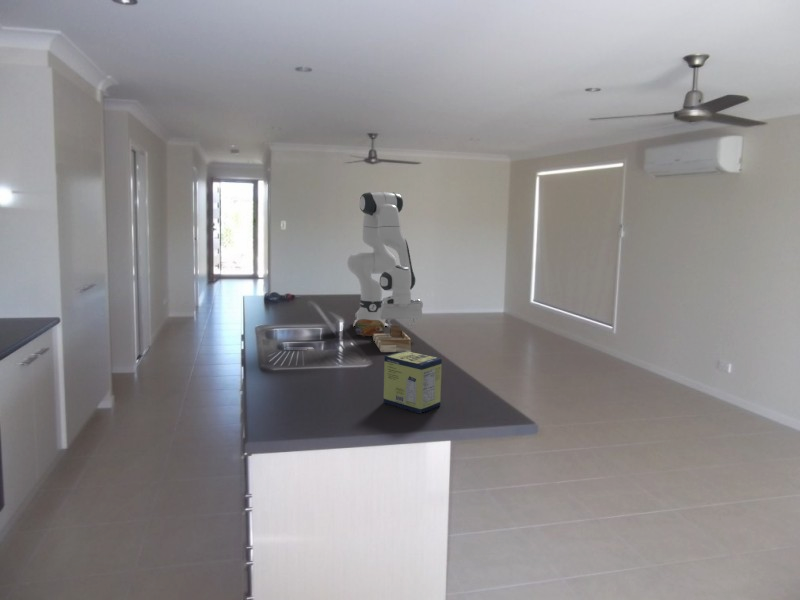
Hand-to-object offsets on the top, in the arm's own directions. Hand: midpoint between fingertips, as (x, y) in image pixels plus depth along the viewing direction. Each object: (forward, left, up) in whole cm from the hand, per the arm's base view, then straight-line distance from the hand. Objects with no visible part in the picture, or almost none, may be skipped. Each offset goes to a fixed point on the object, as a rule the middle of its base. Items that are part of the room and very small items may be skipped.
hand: (400, 328), depth 281 cm
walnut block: (+7, -4, -2) cm, 8 cm away
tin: (-7, -14, -6) cm, 17 cm away
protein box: (+96, -15, -6) cm, 97 cm away
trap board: (+14, -7, -5) cm, 16 cm away
